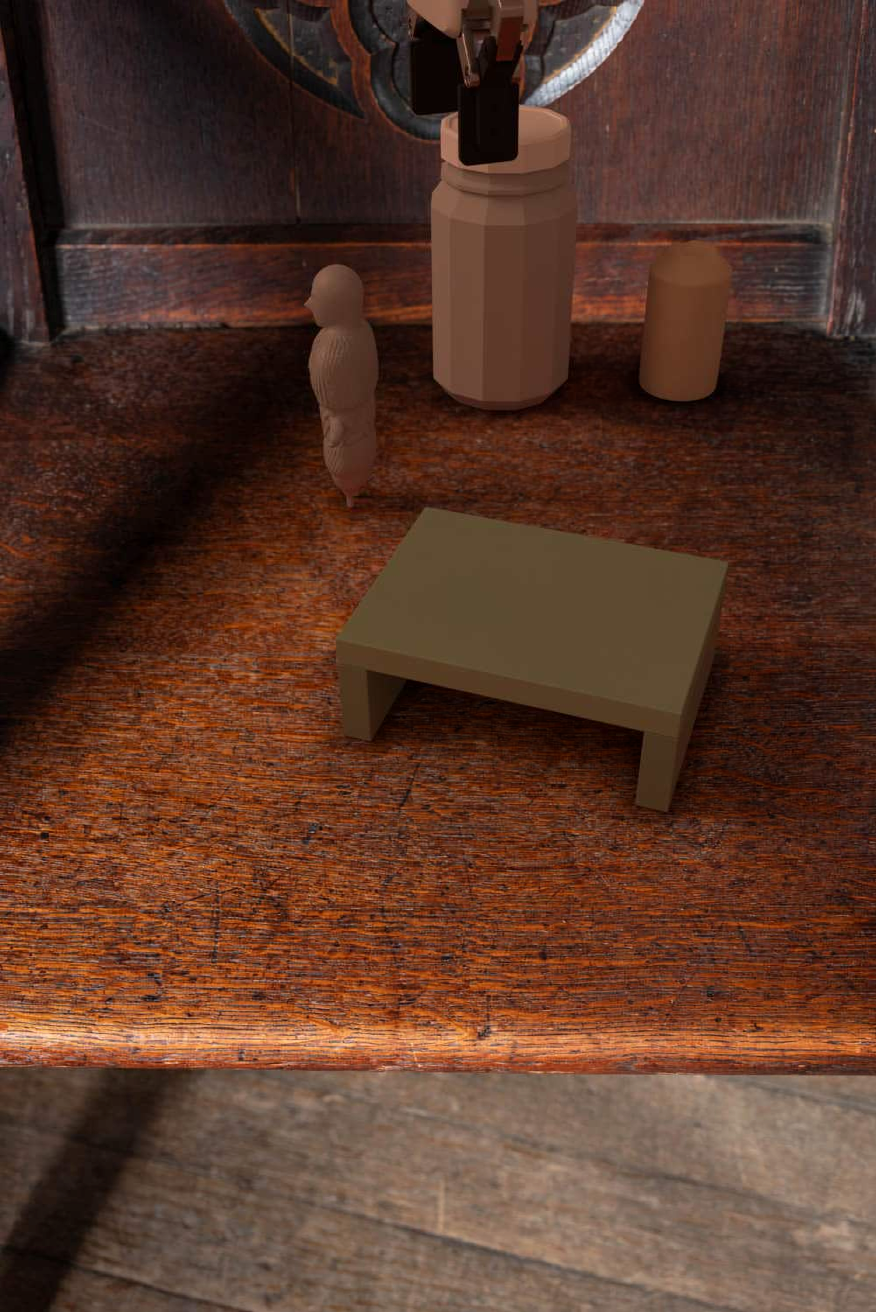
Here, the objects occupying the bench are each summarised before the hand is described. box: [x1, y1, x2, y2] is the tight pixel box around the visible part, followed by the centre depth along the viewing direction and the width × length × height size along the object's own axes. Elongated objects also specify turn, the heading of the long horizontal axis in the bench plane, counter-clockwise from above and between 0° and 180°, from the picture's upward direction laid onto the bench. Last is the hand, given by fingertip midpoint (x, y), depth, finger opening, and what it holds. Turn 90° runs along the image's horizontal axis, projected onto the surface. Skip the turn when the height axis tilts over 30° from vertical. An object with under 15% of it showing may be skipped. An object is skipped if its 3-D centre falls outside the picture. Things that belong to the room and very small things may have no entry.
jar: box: [430, 104, 579, 411], centre depth 84 cm, size 10×10×18 cm
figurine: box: [303, 263, 379, 509], centre depth 73 cm, size 9×4×15 cm, turn 168°
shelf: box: [335, 506, 730, 813], centre depth 62 cm, size 16×12×6 cm
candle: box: [638, 239, 734, 402], centre depth 87 cm, size 6×6×10 cm
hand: (461, 136), depth 71 cm, fingers open, 9 cm apart
